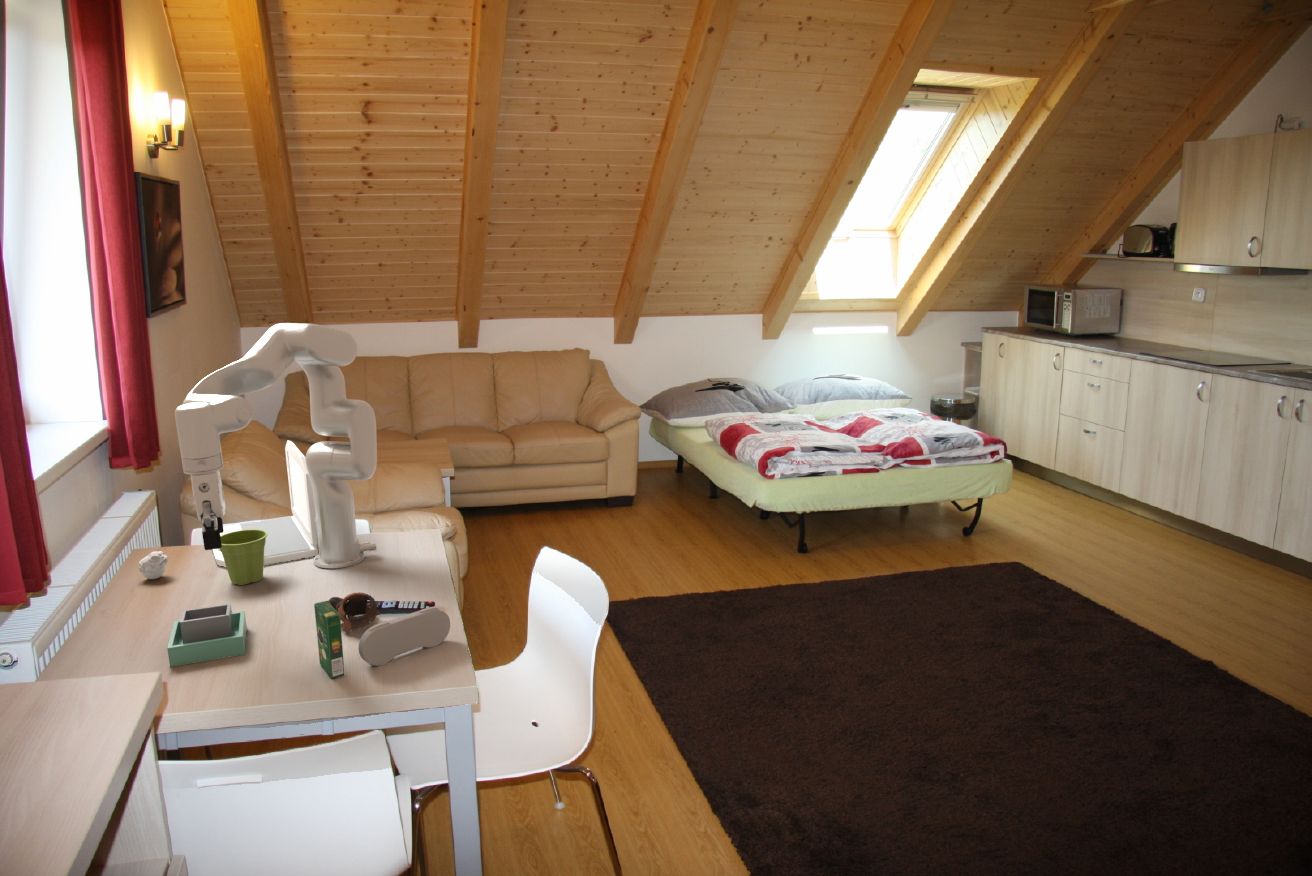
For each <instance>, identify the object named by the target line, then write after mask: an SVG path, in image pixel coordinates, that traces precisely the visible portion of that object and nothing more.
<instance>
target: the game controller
mask: <svg viewBox="0 0 1312 876" xmlns="http://www.w3.org/2000/svg"><path fill="white" fill-rule="evenodd" d="M450 629H451V620H450V616H449V615H448V614H447V613H446V612H445V611H444V610H442V609H440V608H439V607H438V606H430V607H426V608H423V609H420V610H417V611H414V612H411V613H408V614H405V615H402V616H399V617H395V618H393V619H390V620H385V621H382V622H379V623H376V624H374V625H372V626H371V627H369V628H368V629H367V630H365V632H364V633H363V634H362V635H361V637H360V639H359V642H358V654H359V655H360V658H361V659H362V660H363V661H364V662H365V663H367V664H368V665H370V666H374V667H379V666H383V665H386V664H389V663H390V662H391V661H392V660H393V659H394V658H396V657H397V656H400V655H402V654H405V653H408V652H411V651H413V650H417V649H419V648H422V647H423V648H428V649H429V648H433V647H437V646H439V645H441V643H443V642H444V641H445V640H446V639H447V637H448V635H449V632H450Z"/></svg>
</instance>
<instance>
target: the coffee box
mask: <svg viewBox="0 0 1312 876" xmlns="http://www.w3.org/2000/svg"><path fill="white" fill-rule="evenodd" d="M328 601H329V600H325V601H320V602H315V603H314V605H313V606H314V607H313V608H314V617H315V618H314V619H315V627H316V635H317V636H316V638H317V645H318V646H317V648H318V656H319V658H318V659H319V665H320V666H321V667H322V668H323V669H324V671H325V672H326V674H327V675H328V676H329V677H330V679H331V680H333V679H337V678H342V677H344V676H346V675H345V662H344V660H345V659H344V651H343V639H342V638H343V637H342V626H341V625H342V623H341V622H342V620H340V614H339V613H338V612H337V611H336V610H335V609H334V607H333V606H332V605H331V604H330V603H329V602H328Z"/></svg>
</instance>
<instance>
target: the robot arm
mask: <svg viewBox="0 0 1312 876" xmlns="http://www.w3.org/2000/svg"><path fill="white" fill-rule="evenodd" d="M357 354H358V343H357V341H356V339H355V337H354V336H353V335H352V334H351V333H350V332H348V331H346V330H342V329H339V328H334V327H329V326H326V325H321V324H315V323H305V322H303V323H301V322H300V323H299V322H294V323H293V322H281V323H276V324H274V325H272V326H271V327H270V328H268V329H267V331H265V333H264V334H263V335H262V336H261V337H260V338H259V339H258V340H257V342H255V344H254V345H253V346H252V347H251V348H250V349H249V351H248V352H247V353H246V354H245V355H244V356H243V357H242V358H240V359H239V360H236V361H233V362H231V363H230V364H227V365H226V366H224V367H222V368H220V369H217V370H215V371H214V372H212V373H210V374H208V375H207V376H205V377H204V378H202V379H201V380H199V382H198V383H197V384H196V385H195V386H194V387H193V388H192V389H191V390H190V391H189V393H188V394H187V395H186V397H185V398H184V400H183V402H182V404H181V405H178V406H177V407H176V409H175V410H174V420H175V426H176V433H177V439H178V446H179V452H180V458H181V464H182V470H183V474H185V475H189V476H190V482H191V489H192V495H193V499H194V505H195V510H196V514H197V515H196V516H197V519H198V520H199V521H201V529H202V531H201V534H202V535H201V536H202V541H203V549H204V550H205V551H209V550H210V551H211V550H212V551H213V549H219V548H221V547H222V544H221V537H220V533H223V532H224V529H223V527H224V523H223V522H224V521H223V518H224V517H225V516H226V515H225V513H226V501H225V496H224V495H225V494H224V488H223V483H222V477H221V472H220V471H221V470H223V469H224V468H225V466H224V460H223V459H224V458H223V450H222V445H221V439H220V435H221V434H225V433H230V432H231V433H232V432H238V431H240V430H243V429H244V428H246V427H247V426H248V425H249V424H250V423H251V421H252V418H253V416H254V409H253V407H252V404H251V403H250V402H249V401H248V400H247V399H246V398H244V397H242V396H241V395H246V394H250V393H254V392H255V393H256V392H259V391H262V390H264V389H267V388H269V387H272V386H273V385H274V384H276V382H277V381H278V379H280V378H281V377H282V374H283V373H284V372H285V371H286V370H287V369H288V368H289V367H290V365H292V363H293V362H295V363H296V364H297V365H298V366H299V367H300V368H301V369H302V371H303V372H304V374H305V375H306V377H307V382H308V387H309V388H308V389H309V405H310V406H309V407H310V408H309V410H310V425H311V428H312V430H313V431H314V432H315V433H316V434H317V435H320V436H325V437H333V438H334V437H338V438H339V437H340V438H349V442H347V441H335V440H334V441H331V440H323V441H318V442H316V443H313V444H312V445H311V446H310V447H309V448H308V449H307V451H306V453H305V457H306V467H307V470H308V473H309V476H310V480H311V484H312V489H313V498H314V509H315V519H316V529H317V539H318V544H317V547H318V554H317V555H316V556H315V557H313V558H312V559H313V565H315V566H316V567H319V568H321V569H322V568H323V569H340V568H341V569H342V568H346V567H351V566H353V565H357V564H359V563H361V562H362V561H363V560H364V559H365V556H366V555H365V552H368V551H369V552H371V551H377V543H376V542H371V541H364V542H361V541H359V538H358V536H357V526H356V525H357V523H356V515H355V514H356V513H355V503H354V502H355V501H354V495H353V494H354V493H353V490H352V488H351V485H350V483H349V482H348V481H358V482H359V481H361V482H362V481H363V482H364V481H368V480H369V479H371V478H372V477H373V476H374V474H375V472H376V469H377V465H378V464H377V462H378V445H377V438H378V437H377V419H376V415H375V411H374V408H373V407H372V405H371V404H370V403H369V402H367V401H366V400H362V399H354V398H353V399H351V398H349V399H348V398H347V393H346V380H345V376H344V374H343V372H342V370H341V368H340V367H346V366H349V365H350V364H352V363H353V362H354V361H355V359H356V357H357Z"/></svg>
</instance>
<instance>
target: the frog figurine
mask: <svg viewBox="0 0 1312 876" xmlns="http://www.w3.org/2000/svg"><path fill="white" fill-rule="evenodd" d="M168 559H169V556H168V555H166V554H164V552H163V551H162V550H158V551H157V550H156V551H155V550H154V551H152V552H150V553H149V554H148V555H146V556H145V557H143V558H142V559H141V560H139V561H138V569H139V572H140V573H141V574H142V575H143V577H145V578H146V579H147V580H156V579H159V578H161V577H162V576H163V575H164V573H165V571H166V570H165V568H166V566H167V564H168Z"/></svg>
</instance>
